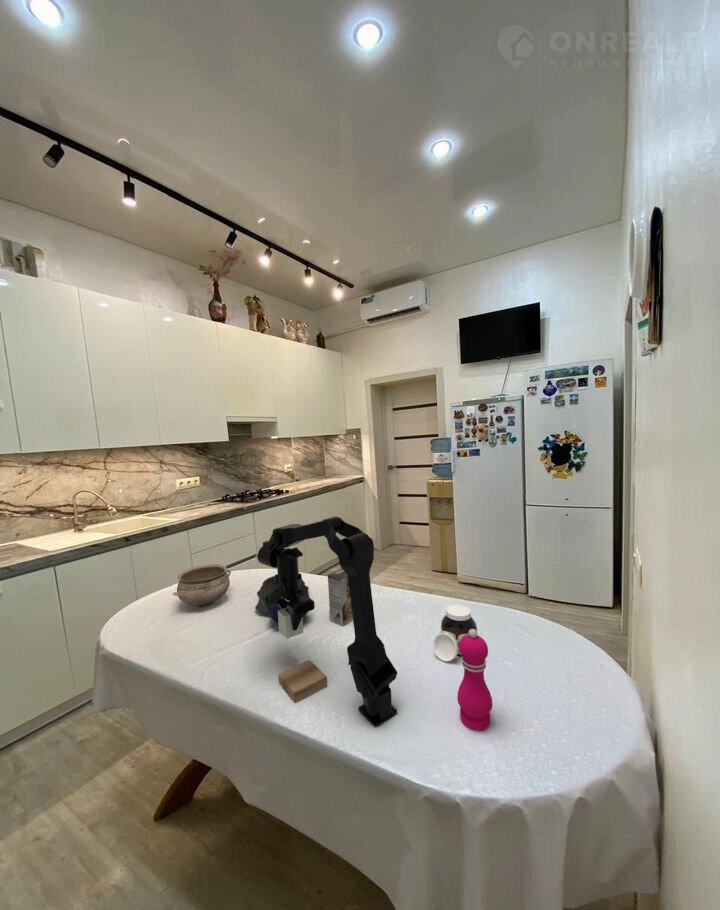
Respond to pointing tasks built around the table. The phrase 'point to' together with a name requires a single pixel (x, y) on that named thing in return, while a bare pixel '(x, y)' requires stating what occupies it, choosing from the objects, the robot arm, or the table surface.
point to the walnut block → (302, 680)
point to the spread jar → (453, 632)
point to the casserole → (260, 606)
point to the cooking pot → (203, 584)
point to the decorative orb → (275, 607)
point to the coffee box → (339, 598)
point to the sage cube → (288, 624)
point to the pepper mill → (474, 683)
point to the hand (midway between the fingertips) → (290, 626)
